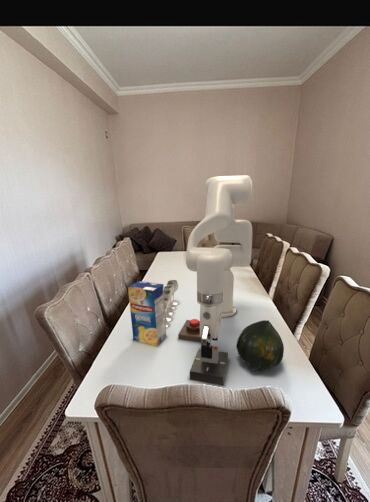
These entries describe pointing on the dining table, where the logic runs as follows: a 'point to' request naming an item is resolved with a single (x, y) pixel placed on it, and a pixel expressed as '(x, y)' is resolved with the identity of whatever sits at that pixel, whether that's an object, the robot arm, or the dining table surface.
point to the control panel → (209, 369)
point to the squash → (260, 346)
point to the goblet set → (169, 298)
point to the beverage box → (147, 312)
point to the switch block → (190, 332)
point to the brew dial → (214, 356)
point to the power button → (194, 322)
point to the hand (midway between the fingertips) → (209, 348)
